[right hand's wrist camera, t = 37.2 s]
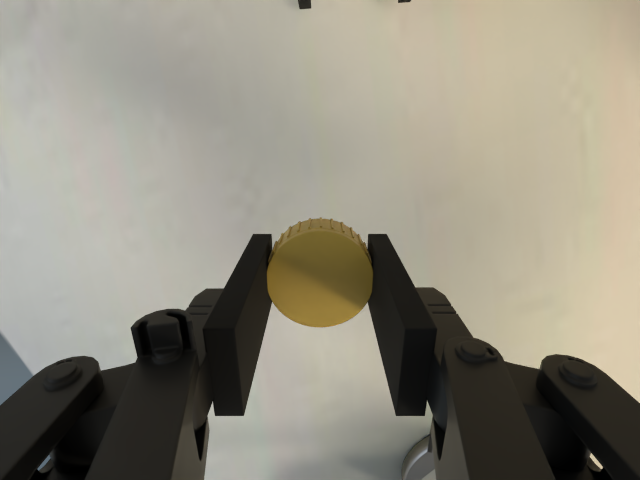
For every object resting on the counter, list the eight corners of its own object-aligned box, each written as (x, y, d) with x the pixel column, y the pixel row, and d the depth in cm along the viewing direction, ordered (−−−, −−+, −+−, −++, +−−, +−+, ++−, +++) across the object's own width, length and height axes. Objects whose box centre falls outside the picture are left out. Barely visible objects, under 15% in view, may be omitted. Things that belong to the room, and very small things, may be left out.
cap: (255, 233, 14) (247, 248, 12) (355, 204, 13) (359, 215, 12) (288, 317, 15) (285, 339, 14) (380, 293, 15) (386, 313, 13)
